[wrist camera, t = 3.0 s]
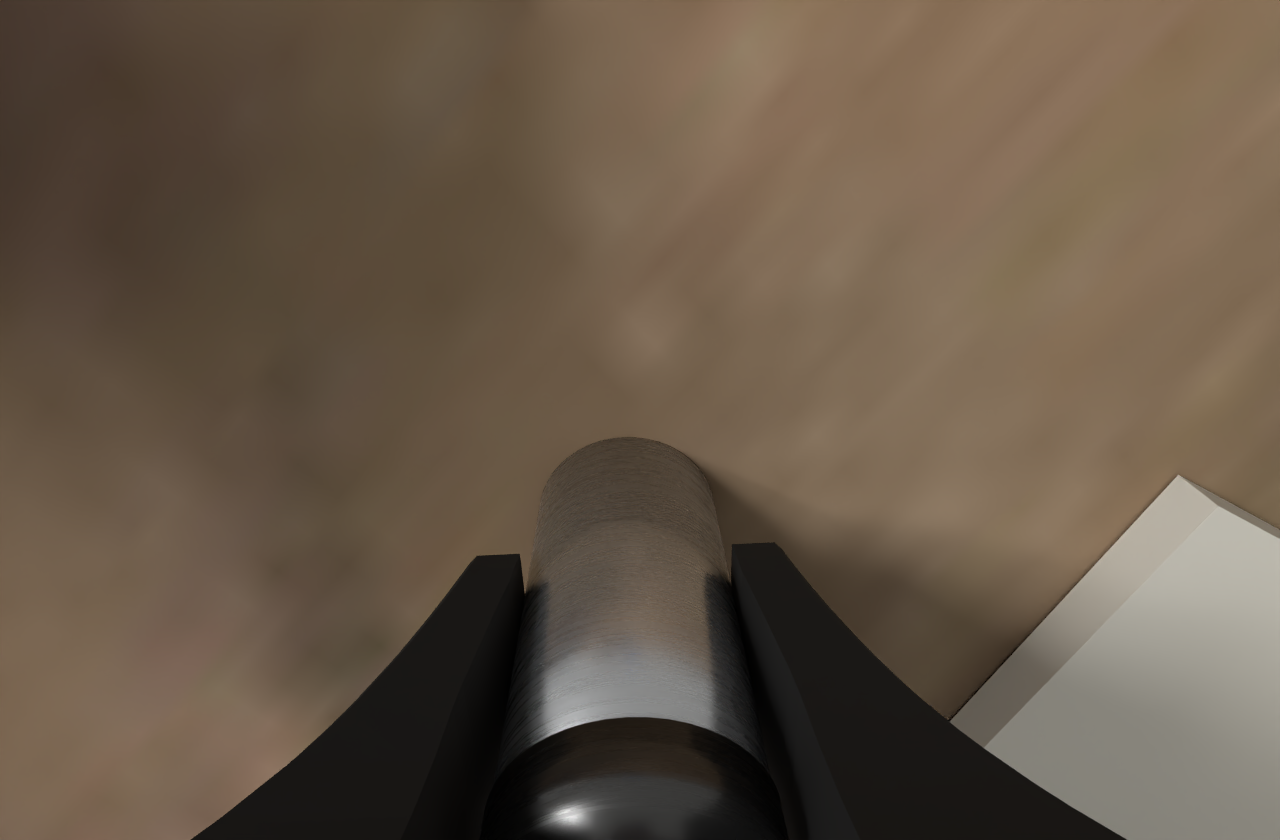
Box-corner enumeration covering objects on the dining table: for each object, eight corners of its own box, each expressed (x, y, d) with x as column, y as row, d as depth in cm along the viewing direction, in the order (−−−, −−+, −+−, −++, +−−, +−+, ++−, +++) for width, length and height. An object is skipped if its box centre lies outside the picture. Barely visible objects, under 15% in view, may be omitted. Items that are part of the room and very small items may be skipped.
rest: (901, 772, 17) (918, 815, 16) (1178, 474, 14) (1217, 505, 13) (1183, 882, 18) (1212, 925, 17) (1482, 639, 15) (1535, 676, 14)
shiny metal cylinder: (507, 548, 14) (416, 971, 8) (586, 404, 13) (556, 763, 6) (662, 611, 15) (697, 1048, 8) (751, 481, 13) (869, 873, 7)
